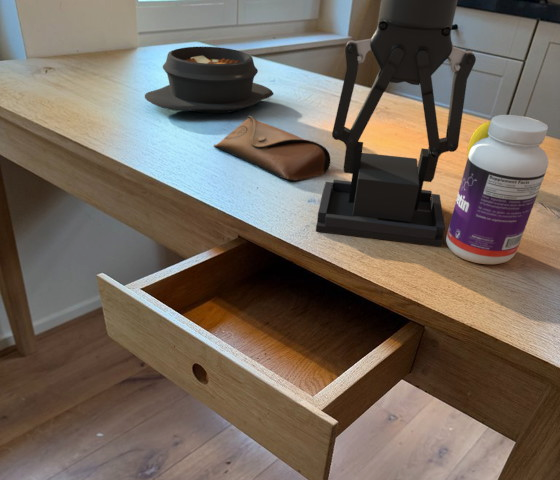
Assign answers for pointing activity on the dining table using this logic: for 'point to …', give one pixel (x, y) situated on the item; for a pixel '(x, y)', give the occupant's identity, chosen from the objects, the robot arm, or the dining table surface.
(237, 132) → the sunglasses case
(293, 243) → the dining table surface
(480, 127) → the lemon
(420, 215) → the base pad
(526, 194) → the pill bottle
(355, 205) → the black block
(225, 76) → the casserole
